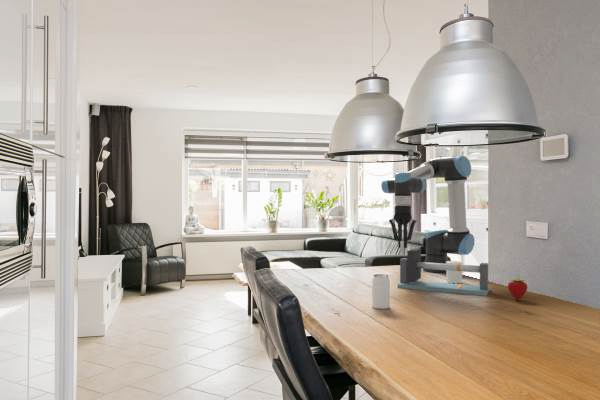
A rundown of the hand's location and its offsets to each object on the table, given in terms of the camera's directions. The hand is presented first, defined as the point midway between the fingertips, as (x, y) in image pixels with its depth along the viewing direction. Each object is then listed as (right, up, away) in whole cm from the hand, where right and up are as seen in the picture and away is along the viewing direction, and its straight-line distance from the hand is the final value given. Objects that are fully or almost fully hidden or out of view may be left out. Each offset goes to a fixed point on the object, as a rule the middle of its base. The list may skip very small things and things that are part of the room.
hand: (402, 254), depth 214 cm
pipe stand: (+16, -14, -9) cm, 23 cm away
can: (-18, -15, -45) cm, 50 cm away
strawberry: (+39, -15, -32) cm, 53 cm away
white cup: (+27, -15, +7) cm, 32 cm away
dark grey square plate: (+5, -11, -3) cm, 13 cm away
